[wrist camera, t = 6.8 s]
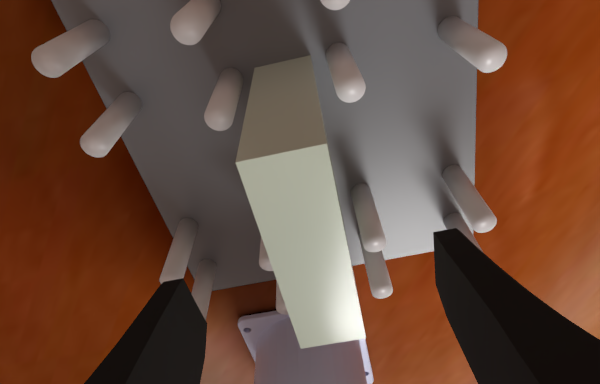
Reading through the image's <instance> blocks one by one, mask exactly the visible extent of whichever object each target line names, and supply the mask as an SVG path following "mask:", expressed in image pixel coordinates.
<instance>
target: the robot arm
mask: <svg viewBox="0 0 600 384" xmlns="http://www.w3.org/2000/svg"><path fill="white" fill-rule="evenodd" d="M433 238H434V258H435V278H436V286H437V289H438V292H439V295H440V298H441V301H442V304H443V307H444V310H445V313H446V316H447V318H448V320H449V323H450V325H451V327H452V329H453V331H454V333H455V336H456V338H457V340H458V342H459V344H460V346H461V348H462V350H463V353H464V355H465V357H466V359H467V361H468V363H469V365H470V367H471V369H472V372H473V374H474V376H475V378H476V380H477V382H478V384H600V340H599V339H597V338H596V337H594V336H593V335H591V334H589V333H588V332H586V331H585V330H583V329H582V328H580V327H579V326H577V325H576V324H574V323H572V322H571V321H569V320H568V319H567V318H565V317H564V316H562V315H561V314H559V313H558V312H557V311H555V310H554V309H552V308H551V307H549V306H548V305H547V304H545V303H544V302H543V301H541V300H540V299H539V298H537V297H536V296H535V295H533V294H532V293H531V292H529V291H528V290H527V289H526V288H524V287H523V286H522V285H521V284H519V283H518V282H517V281H516V280H514V279H513V278H512V277H511V276H510V275H508V274H507V273H506V272H505V271H504V270H502V269H501V268H500V267H499V266H498V265H497V264H495V263H494V262H493V261H492V260H491V259H490V258H489V257H487V256H486V255H485V254H484V253H483V252H482V251H481V250H480V249H479V248H478V247H476V246H475V245H474V244H473V243H472V242H471V241H470V240H469V239H468V238H467V237H466V236H465V235H464V234H463V233H462V232H461V231H460V230H458V229H457V228H453V229H448V230H442V231H437V232H433ZM238 327H239V330H240V332H241V334H242V336H243V338H244V340H245V342H246V344H247V347H248V349H249V351H250V353H251V355H252V357H253V359H254V361H255V376H254V384H372V383H373V381H374V379H373V374H372V369H371V364H370V359H369V354H368V350H367V345H366V340H365V339H359V340H352V341H346V342H340V343H334V344H327V345H321V346H315V347H309V348H303V349H301V348H300V345H299V342H298V339H297V337H296V334H295V331H294V328H293V325H292V322H291V319H290V317H289V315H284V314H280V313H279V312H277V311H271V312H265V313H259V314H253V315H248V316H243V317H240V318H239V319H238ZM206 332H207V322H206V321H205V319H204V317H203V315H202V313H201V311H200V309H199V307H198V306H197V304H196V302H195V300H194V298H193V296H192V294H191V292H190V291H189V289H188V287H187V285H186V283H185V281H184V279H183V278H182V279H176V280H171V281H165V282H163V283H162V284H161V285H160V287H159V288H158V289H157V291H156V292H155V293H154V295H153V296H152V297H151V299H150V300H149V301H148V303H147V304H146V305H145V307H144V308H143V310H142V311H141V312H140V314H139V315H138V316H137V318H136V319H135V320H134V322H133V323H132V324H131V326H130V327H129V328H128V330H127V331H126V332H125V334H124V335H123V336H122V338H121V339H120V340H119V342H118V343H117V344H116V345H115V347H114V348H113V349H112V350H111V352H110V353H109V354H108V355H107V357H106V358H105V359H104V360H103V361H102V363H101V364H100V365H99V366H98V368H97V369H96V370H95V371H94V372H93V374H92V375H91V376H90V377H89V379H88V380H87V381H86V382H85V383H84V384H200V380H201V374H202V369H203V364H204V358H205V348H206Z"/></svg>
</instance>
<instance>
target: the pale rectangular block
mask: <svg viewBox="0 0 600 384" xmlns="http://www.w3.org/2000/svg"><path fill="white" fill-rule="evenodd" d="M235 163H236V166H237V168H238V171H239V174H240V177H241V180H242V183H243V186H244V188H245V191H246V194H247V197H248V200H249V203H250V205H251V208H252V211H253V214H254V217H255V220H256V223H257V225H258V228H259V231H260V234H261V237H262V240H263V243H264V245H265V248H266V251H267V254H268V257H269V260H270V262H271V265H272V268H273V271H274V274H275V277H276V280H277V282H278V285H279V288H280V291H281V294H282V297H283V300H284V302H285V305H286V308H287V311H288V314H289V317H290V319H291V322H292V325H293V328H294V331H295V334H296V337H297V339H298V342H299V345H300V348H301V349H303V348H309V347H315V346H321V345H327V344H334V343H340V342H346V341H352V340H359V339H365V338H366V335H365V330H364V325H363V319H362V314H361V309H360V304H359V299H358V293H357V288H356V283H355V278H354V273H353V267H352V262H351V257H350V252H349V247H348V241H347V236H346V231H345V226H344V220H343V215H342V210H341V205H340V200H339V195H338V190H337V185H336V180H335V175H334V170H333V165H332V160H331V155H330V150H329V145H328V140H327V135H326V130H325V125H324V120H323V115H322V110H321V105H320V100H319V95H318V90H317V85H316V80H315V75H314V70H313V65H312V59H311V55H309V56H304V57H300V58H296V59H291V60H287V61H283V62H278V63H274V64H269V65H265V66H261V67H256V68H254V73H253V78H252V83H251V88H250V93H249V98H248V103H247V108H246V113H245V118H244V122H243V127H242V132H241V137H240V142H239V147H238V152H237V157H236V162H235Z"/></svg>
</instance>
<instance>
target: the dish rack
mask: <svg viewBox="0 0 600 384" xmlns="http://www.w3.org/2000/svg"><path fill="white" fill-rule="evenodd" d="M51 1H52V3H53V5H54V7H55V9H56V11H57V13H58V15H59V17H60V19H61V21H62V22H63V24H64V26H65V28H66V30H67V32H65V33H63V34H61V35H59V36H57V37H56V38H54V39H52V40H50V41H48V42H46V43H44V44H42V45H40V46H38V47H37V48H35V49H34V50H33V52H32V55H31V60H32V63H33V65H34V67H35V68H36V69H37V71H39V72H40V73H41V74H42V75H44V76H47V77H50V78H57V77H59V76H61V75H63V74H64V73H65V72H67V71H68V70H70V69H71V68H72V67H74V66H75V65H77V64H78V63H79V62H81V61H83V63H84V65H85V67H86V69H87V71H88V73H89V75H90V77H91V79H92V81H93V83H94V85H95V87H96V89H97V91H98V93H99V95H100V97H101V99H102V100H103V102H104V104H105V106H106V108H107V109H106V111H105V112H104V113H103V114H102V115H101V116H100V117H99V118H98V119H97V120H96V121H95V122H94V123H93V125H92V126H91V127H90V128H89V129H88V130H87V131H86V132H85V133H84V134H83V135H82V137H81V138H80V145H81V148H82V149H83V150H84V152H85V153H87V154H88V155H90V156H93V157H104V156H105V155H107V154H108V152H109V151H110V150H111V148H112V147H113V146H114V144H115V143H116V142H117V140H118V139H119V138H120V136H121V138H122V139H123V141H124V143H125V145H126V147H127V149H128V151H129V153H130V155H131V157H132V159H133V161H134V163H135V165H136V167H137V169H138V171H139V173H140V175H141V176H142V178H143V180H144V182H145V184H146V186H147V188H148V190H149V192H150V194H151V196H152V198H153V200H154V202H155V204H156V206H157V208H158V210H159V212H160V214H161V215H162V217H163V219H164V221H165V223H166V225H167V227H168V229H169V231H170V233H171V235H172V237H173V241H172V244H171V247H170V250H169V253H168V256H167V259H166V262H165V264H164V267H163V270H162V273H161V276H160V279H159V281H160V283H161V284H162V283H163V282H165V281H171V280H176V279H182V278H184V275H185V271H186V268H187V266H188V268H189V270H190V272H191V274H192V276H193V278H194V280H195V281H194V285H193V289H192V293H191V294H192V296H193V298H194V300H195V302H196V304H197V306H198V307H199V309H200V311H201V313H202V315H203V317H204V319H205V321H206V317H207V312H208V307H209V302H210V297H211V292H212V291H215V290H220V289H226V288H231V287H237V286H242V285H248V284H253V283H259V282H265V281H270V280H276V277H275V274H274V271H273V268H272V265H271V262H270V260H269V257H268V254H267V251H266V248H265V245H264V243H263V240H262V237H261V234H260V231H259V228H258V225H257V223H256V220H255V217H254V214H253V211H252V208H251V205H250V203H249V200H248V197H247V194H246V191H245V188H244V186H243V183H242V180H241V177H240V174H239V171H238V168H237V166H236V163H235V162H236V157H237V152H238V147H239V142H240V137H241V132H242V127H243V122H244V118H245V113H246V108H247V103H248V98H249V93H250V88H251V83H252V78H253V73H254V68H256V67H261V66H265V65H269V64H274V63H278V62H283V61H287V60H291V59H296V58H300V57H304V56H309V55H311V59H312V65H313V70H314V75H315V80H316V85H317V90H318V95H319V100H320V105H321V110H322V115H323V120H324V125H325V130H326V135H327V140H328V145H329V150H330V155H331V160H332V165H333V170H334V175H335V180H336V185H337V190H338V195H339V200H340V205H341V210H342V215H343V220H344V226H345V231H346V236H347V241H348V247H349V252H350V257H351V262H352V266H354V265H359V264H365V266H366V271H367V275H368V280H369V284H370V288H371V293H372V295H373V296H374V297H376V298H380V299H382V298H386V297H388V296H390V295H391V294H392V292H393V288H392V284H391V281H390V277H389V274H388V270H387V267H386V264H385V260H387V259H392V258H398V257H404V256H409V255H415V254H420V253H426V252H431V251H434V238H433V232H437V231H442V230H448V229H453V228H457V229H458V230H460V231H461V232H462V233H463V234H464V235H465V236H466V237H467V238H468V239H469V240H470V241H471V242H472V243H473V244H474V245H475V246H476V247H478V248H479V249H480V250H481V251H482V249H481V248H480V246H479V244H478V243H477V241H476V239H475V238H474V236H473V229H474V230H475V231H476V232H479V233H484V232H488V231H490V230H491V229H493V228H494V227H495V225H496V223H497V219H496V217H495V215H494V214H493V213H492V211H491V210H490V208H489V207H488V205H487V204H486V203H485V201H484V200H483V198H482V197H481V195H480V194H479V193H478V191H477V190H476V188H475V187H474V179H475V132H476V84H477V69H479V70H480V71H482V72H485V73H490V72H493V71H496V70H497V69H499V68H500V67H501V66H502V65H503V64H504V62H505V60H506V57H507V49H506V47H505V45H504V44H502V43H501V42H499V41H497V40H496V39H494V38H492V37H491V36H489V35H487V34H485V33H484V32H482V31H480V30H479V29H478V0H51ZM482 252H483V251H482ZM276 310H277V312H279V313H280V314H284V315H289V314H288V311H287V308H286V305H285V302H284V300H283V297H282V294H281V291H280V288H279V285H278V282H277V281H276Z"/></svg>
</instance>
